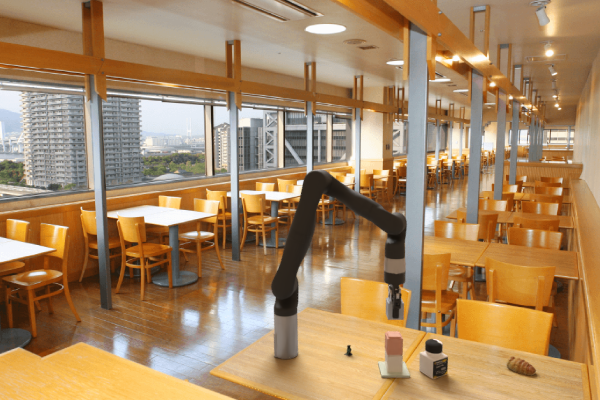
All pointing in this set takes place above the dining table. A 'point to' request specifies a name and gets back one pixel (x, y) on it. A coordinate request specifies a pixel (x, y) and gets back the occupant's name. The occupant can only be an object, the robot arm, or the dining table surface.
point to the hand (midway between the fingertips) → (394, 314)
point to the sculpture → (348, 351)
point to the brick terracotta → (393, 343)
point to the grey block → (389, 310)
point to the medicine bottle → (433, 359)
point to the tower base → (393, 374)
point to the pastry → (520, 366)
